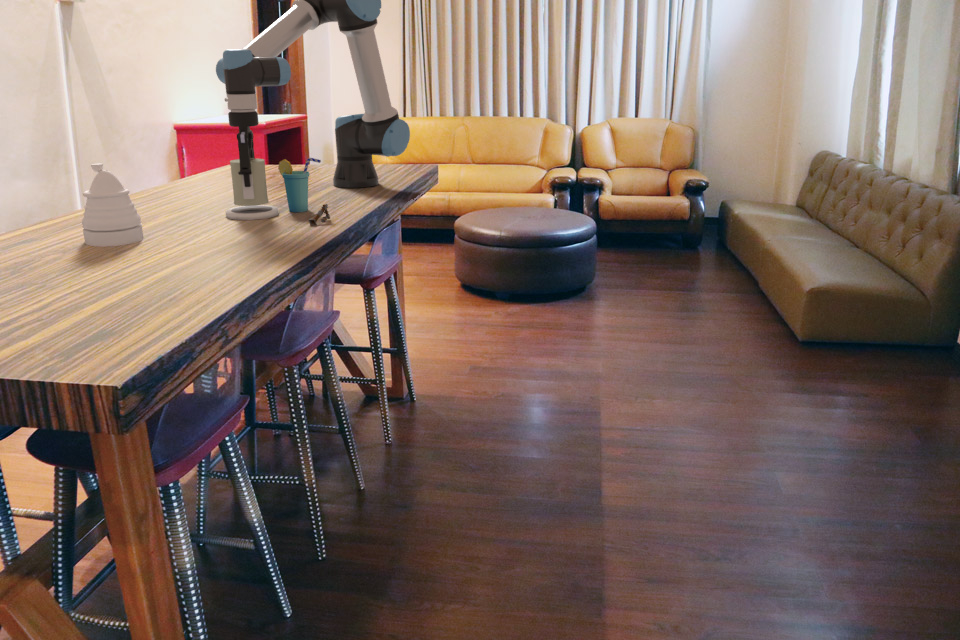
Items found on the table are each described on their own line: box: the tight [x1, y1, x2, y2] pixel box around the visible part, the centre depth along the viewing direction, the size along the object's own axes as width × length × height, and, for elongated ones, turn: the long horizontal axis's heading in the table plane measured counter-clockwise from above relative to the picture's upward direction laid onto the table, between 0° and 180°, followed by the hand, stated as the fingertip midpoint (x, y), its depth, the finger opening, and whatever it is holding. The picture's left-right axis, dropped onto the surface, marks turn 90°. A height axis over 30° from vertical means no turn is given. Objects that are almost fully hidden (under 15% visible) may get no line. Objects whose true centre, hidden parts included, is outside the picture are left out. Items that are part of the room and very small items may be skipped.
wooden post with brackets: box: [308, 203, 331, 226], centre depth 212 cm, size 2×8×4 cm, turn 157°
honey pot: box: [81, 163, 144, 248], centre depth 190 cm, size 13×13×18 cm
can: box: [229, 157, 269, 207], centre depth 220 cm, size 9×9×12 cm
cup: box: [278, 157, 322, 213], centre depth 226 cm, size 14×8×15 cm, turn 73°
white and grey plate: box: [225, 204, 280, 221], centre depth 222 cm, size 14×14×2 cm
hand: (250, 195), depth 221 cm, fingers closed on can, 9 cm apart
